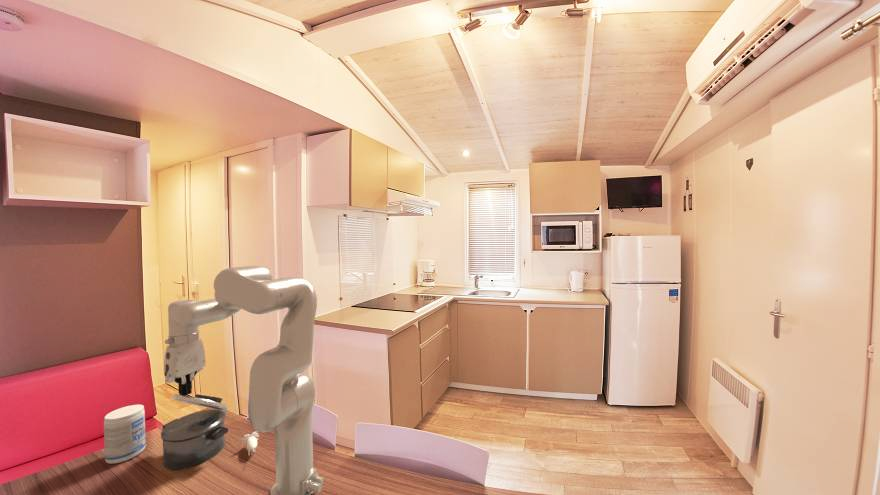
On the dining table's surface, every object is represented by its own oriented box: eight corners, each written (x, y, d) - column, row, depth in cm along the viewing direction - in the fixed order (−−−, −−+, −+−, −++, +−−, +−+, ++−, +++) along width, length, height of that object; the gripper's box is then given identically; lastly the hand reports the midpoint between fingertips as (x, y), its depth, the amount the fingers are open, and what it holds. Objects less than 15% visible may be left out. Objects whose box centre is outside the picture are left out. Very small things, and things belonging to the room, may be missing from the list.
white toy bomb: (241, 446, 104) (240, 433, 104) (259, 440, 108) (258, 427, 108) (244, 466, 95) (244, 451, 95) (264, 459, 98) (263, 444, 98)
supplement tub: (141, 457, 100) (140, 413, 100) (99, 469, 95) (98, 423, 95) (149, 441, 108) (147, 400, 108) (110, 452, 103) (109, 409, 103)
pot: (248, 439, 108) (247, 412, 108) (195, 477, 91) (194, 444, 91) (199, 430, 114) (198, 404, 114) (141, 464, 97) (140, 433, 97)
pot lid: (236, 412, 108) (241, 403, 109) (198, 402, 95) (203, 392, 97) (201, 406, 112) (206, 397, 114) (160, 396, 99) (166, 386, 101)
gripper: (166, 347, 91) (168, 407, 91) (215, 332, 105) (216, 384, 106) (148, 345, 93) (150, 404, 93) (199, 331, 107) (200, 382, 108)
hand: (185, 393), depth 99 cm, fingers closed
